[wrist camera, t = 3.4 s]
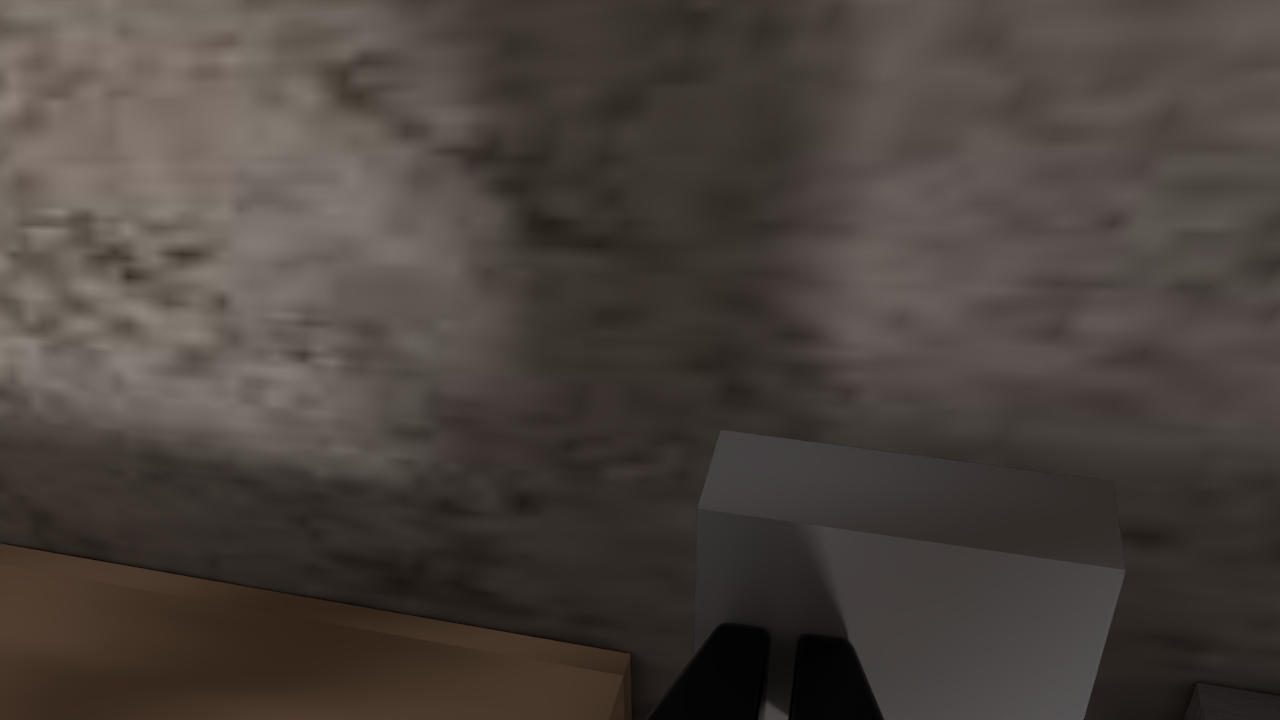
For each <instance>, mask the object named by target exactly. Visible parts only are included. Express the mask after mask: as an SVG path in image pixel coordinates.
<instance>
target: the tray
mask: <svg viewBox="0 0 1280 720" xmlns="http://www.w3.org/2000/svg"><path fill="white" fill-rule="evenodd" d="M0 720H632V710H631V654H628V653H622V652H617V651H611V650H605V649H600V648H594V647H588V646H582V645H577V644H571V643H565V642H560V641H554V640H548V639H542V638H537V637H531V636H525V635H520V634H514V633H508V632H502V631H497V630H491V629H485V628H480V627H474V626H468V625H462V624H457V623H451V622H445V621H440V620H434V619H428V618H422V617H417V616H411V615H405V614H400V613H394V612H388V611H382V610H377V609H371V608H365V607H360V606H354V605H348V604H342V603H337V602H331V601H325V600H320V599H314V598H308V597H302V596H297V595H291V594H285V593H280V592H274V591H268V590H262V589H257V588H251V587H245V586H240V585H234V584H228V583H222V582H217V581H211V580H205V579H200V578H194V577H188V576H182V575H177V574H171V573H165V572H160V571H154V570H148V569H142V568H137V567H131V566H125V565H120V564H114V563H108V562H102V561H97V560H91V559H85V558H80V557H74V556H68V555H62V554H57V553H51V552H45V551H40V550H34V549H28V548H22V547H17V546H11V545H5V544H0Z"/></svg>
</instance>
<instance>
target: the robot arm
mask: <svg viewBox="0 0 1280 720" xmlns="http://www.w3.org/2000/svg"><path fill="white" fill-rule="evenodd" d="M770 644H771V636H770V633H769V631H768V630H766V629H765V628H763V627H756V626H749V625H741V624H734V623H722V624H720V625H718V626H717V627H716V628H715V629H714V630H713V631H712V633H711V634H710V635H709V637H708V638H707V639H706V641H705V642H704V643H703V644H702V646H701V647H700V648H699V650H698V651H697V652H696V653H695V655H694V656H693V657H692V659H691V660H690V661H689V663H688V664H687V665H686V666H685V668H684V669H683V670H682V672H681V673H680V674H679V675H678V677H677V678H676V679H675V681H674V682H673V683H672V685H671V686H670V687H669V688H668V690H667V691H666V692H665V694H664V695H663V696H662V698H661V699H660V700H659V701H658V703H657V704H656V705H655V707H654V708H653V709H652V710H651V712H650V713H649V714H648V716H647V717H646V718H645V720H764V719H765V709H766V698H767V685H768V671H769V658H770ZM788 720H885V719H884V717H883V715H882V712H881V710H880V707H879V705H878V703H877V700H876V698H875V695H874V693H873V691H872V688H871V686H870V684H869V681H868V679H867V676H866V674H865V672H864V669H863V667H862V664H861V662H860V660H859V657H858V655H857V652H856V650H855V648H854V646H853V645H852V643H851V642H850V641H848V640H847V639H844V638H838V637H830V636H823V635H816V634H803V635H801V636H800V637H799V639H798V642H797V649H796V658H795V666H794V675H793V683H792V692H791V700H790V709H789V717H788Z"/></svg>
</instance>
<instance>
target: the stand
mask: <svg viewBox="0 0 1280 720" xmlns="http://www.w3.org/2000/svg"><path fill="white" fill-rule="evenodd" d="M1184 720H1280V696H1277V695H1271V694H1265V693H1259V692H1253V691H1247V690H1241V689H1235V688H1228V687H1222V686H1216V685H1210V684H1204V683H1198V682H1197V684H1196V687H1195V690H1194V692H1193V695H1192V698H1191V701H1190V704H1189V707H1188V709H1187V712H1186V715H1185V718H1184Z"/></svg>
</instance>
